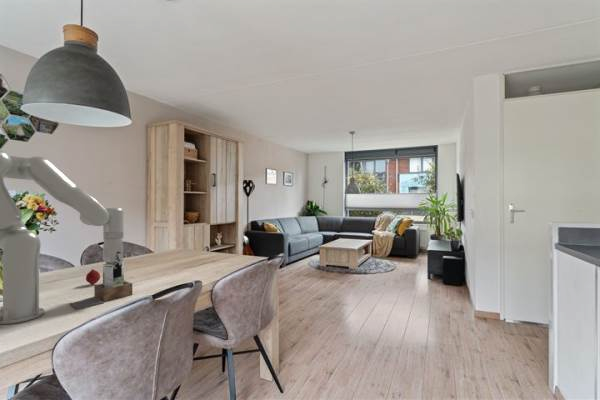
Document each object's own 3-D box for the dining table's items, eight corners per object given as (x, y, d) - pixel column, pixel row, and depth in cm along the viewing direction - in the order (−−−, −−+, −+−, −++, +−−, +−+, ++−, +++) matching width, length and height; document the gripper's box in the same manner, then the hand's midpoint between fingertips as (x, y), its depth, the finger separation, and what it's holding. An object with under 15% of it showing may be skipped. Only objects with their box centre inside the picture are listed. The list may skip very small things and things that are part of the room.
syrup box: (114, 293, 134) (113, 261, 134) (124, 294, 132) (124, 261, 132) (102, 297, 128) (102, 263, 128) (113, 298, 127) (112, 264, 127)
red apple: (102, 282, 151) (102, 267, 151) (96, 286, 145) (96, 269, 145) (89, 283, 150) (89, 267, 150) (83, 286, 144) (83, 270, 144)
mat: (77, 309, 113) (77, 308, 113) (69, 304, 119) (69, 303, 119) (103, 303, 121) (103, 301, 121) (95, 298, 126) (95, 297, 126)
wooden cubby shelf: (104, 301, 123) (104, 289, 123) (94, 296, 129) (94, 285, 129) (132, 294, 131) (132, 283, 131) (121, 290, 138) (121, 279, 138)
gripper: (96, 235, 133) (96, 274, 133) (112, 238, 122) (112, 281, 122) (114, 233, 139) (114, 271, 139) (131, 236, 128) (131, 277, 128)
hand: (113, 275), depth 130 cm, fingers closed on syrup box, 7 cm apart
